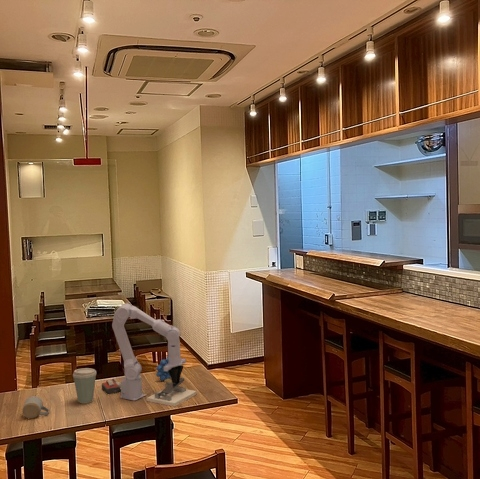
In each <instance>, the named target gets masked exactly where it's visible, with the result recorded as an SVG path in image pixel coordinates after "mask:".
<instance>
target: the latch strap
mask: <svg viewBox="0 0 480 479" xmlns="http://www.w3.org/2000/svg"><path fill="white" fill-rule="evenodd" d="M184 381H185V378H183V377H180V381H179V382H177V383H170V384H169V385H168V386H167V387H166V388H163V389H162V390H160V391H161V393H159V396H164V397H166V395H167V394H170V393H171V392H172V391H173V390H174V389H175V388H177V387H178V386H180V385H181V384H182V383H183V382H184Z"/></svg>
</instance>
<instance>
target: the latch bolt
mask: <svg viewBox="0 0 480 479" xmlns="http://www.w3.org/2000/svg"><path fill="white" fill-rule="evenodd" d="M163 381H164V384H165V383H169V384H170V383H172V380H171V378H170V379H169V378H168V379H164V380H163Z"/></svg>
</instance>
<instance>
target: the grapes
mask: <svg viewBox="0 0 480 479" xmlns="http://www.w3.org/2000/svg"><path fill="white" fill-rule="evenodd" d="M168 363H169V358H168V356H167V358H166V359H164V358H163V359H161V360H160V364H157V366H156V368H155V369H156V371H157V372H156V374H155V375H156V377H157V378H159V381H164V380H166V379H168V378H169V379H171V377H170V374H169V373H168V371H164V366H166V365H167V364H168Z"/></svg>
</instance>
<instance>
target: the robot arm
mask: <svg viewBox="0 0 480 479" xmlns="http://www.w3.org/2000/svg"><path fill="white" fill-rule="evenodd" d="M128 319H130V320H132V319H133V320H134V319H138V320H140V321H141V322H143V323H146V324H148V325H149V326H151V327H152V330H153V331H154V332H156V333H158V334H160V335H161V336H163V337H166V339H167V340H166V341H167V352H168V353H167V354H168V356H167V357H168V358H169V363H168V364H167V365H166V366H164V371H168V373H169V374H170V377H171V378H170V379H171V380H172V383H177V382H179V381H180V378H181V375H182V372H183V370H184V365H183V364H186V363H187V361H186V360H187V359H186V358H182V357H181V343H180V341H181V340H180V335H181V331H180V329H179V328H178V327H177V326H174V325H172V324H171V325H170V324H168V323H167V322H165V320H164V319H160V318H159V319H155V318H153V317H151V316H150V315H149V314H147V313H146V312H144V311H142V310H141V309H139V307H137V306H135V305H132V304H130V303H127V302H125V303H123V304H121V306H119V307H118V308H117V309H116V310H115V312H114V314H113V320H112V324H111V327H112V330H113V332H114V336H115V339H116V342H117V345H118V348H119V351H120V353H121V356H122V359H123V367H124V368H123V369H124V377H123V378H122V379H121V382H120V384H121V388H120V389H121V392H120V393H121V395H120V396H119V397H120V398H121V399H125V400H130V401H138V400H139V399H142V398H144V397H146V396H147V394H145V393H143V386H142V376H141V375H142V374H141V372H142V365H141V363H140V362H138V359H137V358H136V356H135V354H134V352H133V348H132V345H131V343H130V340H129V337H128V334H127V331H126V328H125V324H126V322H127V320H128Z"/></svg>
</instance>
